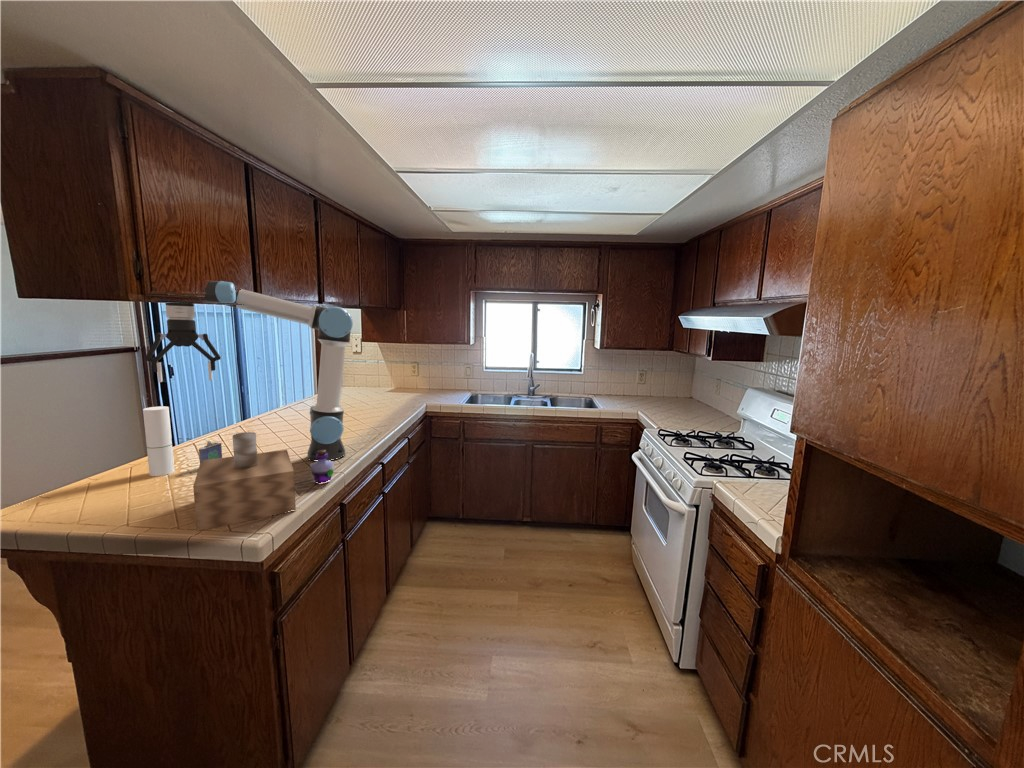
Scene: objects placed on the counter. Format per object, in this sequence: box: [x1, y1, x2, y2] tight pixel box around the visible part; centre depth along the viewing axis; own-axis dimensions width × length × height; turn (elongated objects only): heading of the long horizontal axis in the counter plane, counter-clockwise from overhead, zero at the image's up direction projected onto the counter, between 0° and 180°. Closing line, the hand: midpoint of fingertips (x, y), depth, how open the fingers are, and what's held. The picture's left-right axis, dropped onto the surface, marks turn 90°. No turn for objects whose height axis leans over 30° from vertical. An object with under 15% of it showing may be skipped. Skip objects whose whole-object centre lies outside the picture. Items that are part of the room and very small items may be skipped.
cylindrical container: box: [142, 405, 176, 477], centre depth 149 cm, size 7×7×25 cm
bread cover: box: [193, 431, 297, 532], centre depth 126 cm, size 24×24×23 cm
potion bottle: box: [309, 450, 335, 483], centre depth 146 cm, size 9×9×12 cm
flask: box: [198, 440, 223, 464], centre depth 158 cm, size 9×3×11 cm, turn 172°
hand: (186, 380), depth 139 cm, fingers open, 13 cm apart
